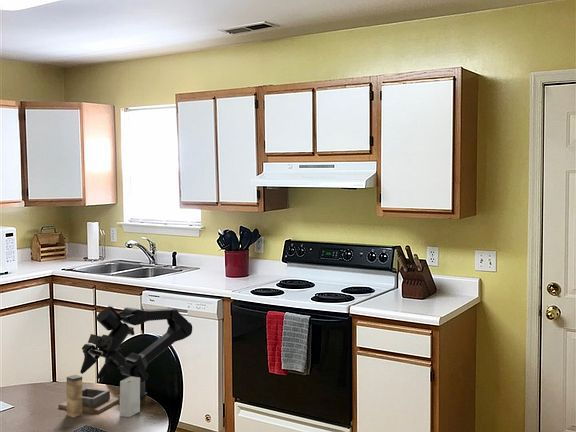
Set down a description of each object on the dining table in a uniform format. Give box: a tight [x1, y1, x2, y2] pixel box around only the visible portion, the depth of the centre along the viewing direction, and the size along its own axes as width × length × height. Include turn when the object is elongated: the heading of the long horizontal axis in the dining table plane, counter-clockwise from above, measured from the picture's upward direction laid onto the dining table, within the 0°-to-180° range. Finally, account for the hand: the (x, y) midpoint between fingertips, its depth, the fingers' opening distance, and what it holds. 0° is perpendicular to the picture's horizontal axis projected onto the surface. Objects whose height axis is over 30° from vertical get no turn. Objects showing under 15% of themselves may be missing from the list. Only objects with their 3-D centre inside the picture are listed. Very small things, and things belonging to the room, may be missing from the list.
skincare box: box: [119, 376, 141, 418], centre depth 221 cm, size 6×4×12 cm
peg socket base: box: [58, 387, 120, 415], centre depth 229 cm, size 16×13×4 cm
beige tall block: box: [66, 374, 83, 418], centre depth 219 cm, size 4×4×13 cm
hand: (89, 375), depth 224 cm, fingers open, 9 cm apart
